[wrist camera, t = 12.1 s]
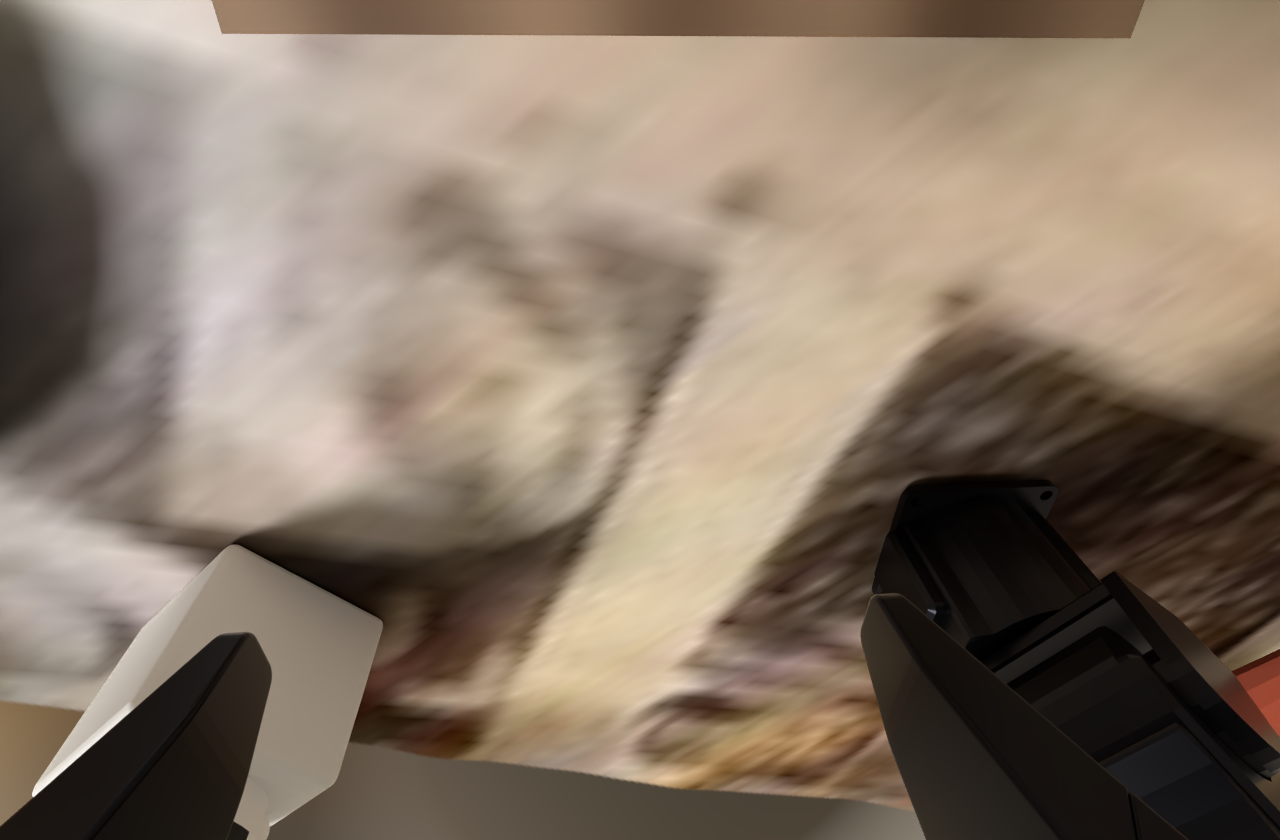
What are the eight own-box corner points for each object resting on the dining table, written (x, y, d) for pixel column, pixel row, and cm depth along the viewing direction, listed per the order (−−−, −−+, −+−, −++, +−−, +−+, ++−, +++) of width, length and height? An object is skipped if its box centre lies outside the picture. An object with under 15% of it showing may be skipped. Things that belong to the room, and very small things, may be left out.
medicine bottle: (142, 625, 27) (-108, 992, 17) (233, 537, 25) (6, 902, 15) (295, 691, 30) (159, 1030, 21) (388, 619, 28) (285, 962, 18)
